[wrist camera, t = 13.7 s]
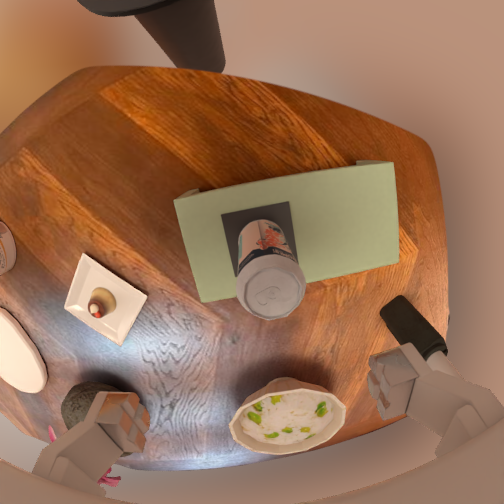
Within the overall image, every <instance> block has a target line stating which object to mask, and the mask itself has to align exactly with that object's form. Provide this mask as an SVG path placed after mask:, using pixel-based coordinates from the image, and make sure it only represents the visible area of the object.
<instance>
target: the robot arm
mask: <svg viewBox="0 0 504 504" xmlns="http://www.w3.org/2000/svg"><path fill="white" fill-rule="evenodd" d="M369 366H370V368H371V370H370V371H369V372H368V379H367V380H368V387H369V391H370V393H371V396H372V398H374V399H376V400H378V402H377V409H378V411H379V413H380V415H381V417H382V420H383V421H384V420H387V419H390V418H393V417H396V416H399V415H402V414H405V413H406V415H408V416H409V417H411V418H413V419H414V420H415V421H417V422H419V423H420V424H422V425H423V426H425V427H427V428H428V429H430V430H432V431H433V432H435V433H437V434H438V435H440V436H442V437H443V438H442V439H441V441H440V443H439V445H438V446H437V448H436V450H435V454H436V456H437V458H436V459H434V460H432V461H430V462H428V463H426V464H424V465H422V466H420V467H417V468H415V469H413V470H411V471H408V472H406V473H403V474H401V475H398V476H396V477H393V478H390V479H388V480H385V481H382V482H379V483H377V484H373V485H371V486H367V487H364V488H361V489H357V490H354V491H350V492H347V493H344V494H340V495H335V496H331V497H327V498H323V499H318V500H313V501H308V502H302V503H296V504H504V407H503V406H502V405H501V403H500V402H499V401H498V399H497V398H496V397H495V395H494V394H493V393H492V392H491V391H490V390H489V389H487V388H484V387H481V386H478V385H475V384H473V383H470V382H467V381H465V380H462V379H459V378H457V377H454V376H451V375H449V374H446V373H443V372H441V371H438V370H435V371H432V369H431V368H430V367H429V365H428V364H427V363H426V361H425V360H424V359H423V357H422V356H421V355H420V353H419V352H418V351H417V349H416V348H415V347H414V346H413V344H412V343H407V344H404V345H401V346H398V347H396V348H392V349H389V350H386V351H383V352H380V353H377V354H374V355H371V356H370V358H369ZM139 400H140V399H139V397H138V396H137V394H136V393H133V392H103V391H100V392H99V393H97V395H96V397H95V399H94V401H93V403H92V405H91V407H90V409H89V411H88V413H87V415H86V418H85V420H84V422H83V421H80V422H79V423H78V424H76V425H75V426H74V427H72V428H71V429H70V430H68V431H67V432H66V433H64V434H63V435H62V436H60V437H59V438H58V439H56V440H55V441H54V442H52V443H51V444H50V445H48V446H47V447H45V448H44V449H43V450H42V452H41V454H40V456H39V458H38V460H37V462H36V465H35V467H34V469H33V471H32V473H30V472H28V471H25V470H23V469H21V468H19V467H17V466H15V465H12V464H11V463H9V462H6V461H5V460H3V459H1V458H0V504H135V503H130V502H125V501H120V500H115V499H110V498H106V497H105V494H106V491H105V489H104V488H103V487H101V486H100V485H99V484H98V483H96V482H97V481H98V480H99V479H100V478H101V477H102V476H103V475H104V474H105V473H106V471H107V470H108V469H109V468H110V467H111V466H112V465H113V464H114V463H115V462H116V460H117V459H118V458H119V457H120V456H121V455H122V454H123V452H137V453H143V449H144V445H145V442H146V438H145V436H144V434H145V433H146V432H147V431H148V430H149V426H150V416H149V413H148V411H147V409H146V408H145V407H144V406H143V405H141V404H140V403H139Z"/></svg>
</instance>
